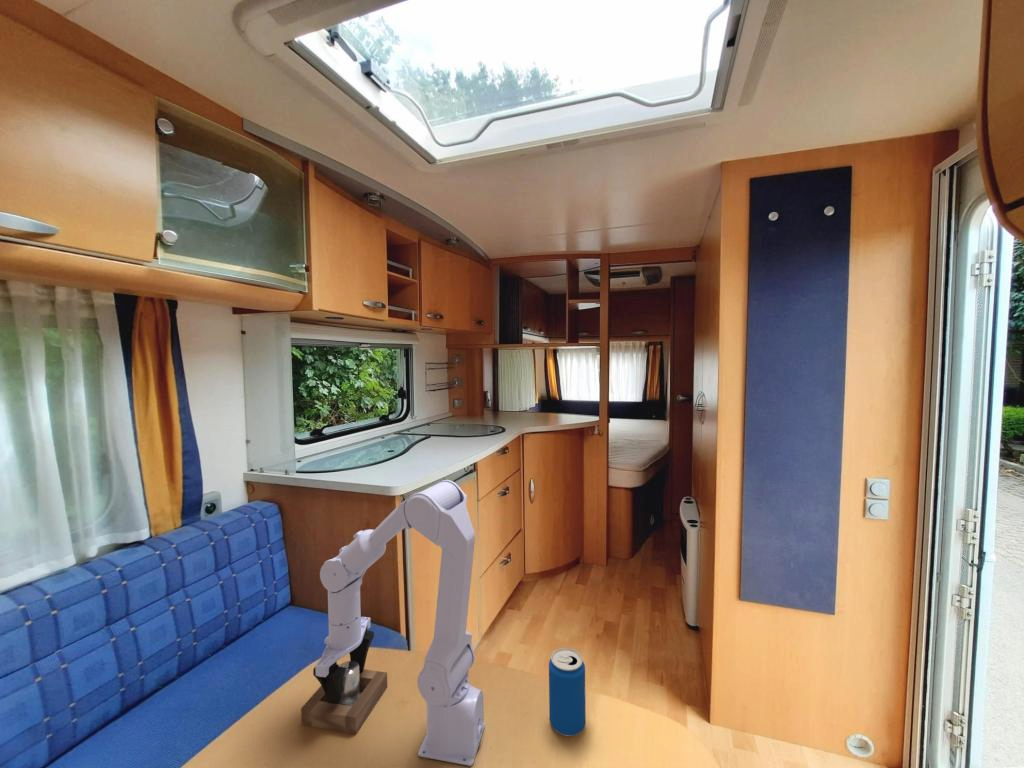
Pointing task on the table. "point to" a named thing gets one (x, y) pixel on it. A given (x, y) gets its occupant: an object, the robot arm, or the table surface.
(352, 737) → the table surface
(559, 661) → the beverage can
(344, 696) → the metal peg
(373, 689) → the walnut socket block
